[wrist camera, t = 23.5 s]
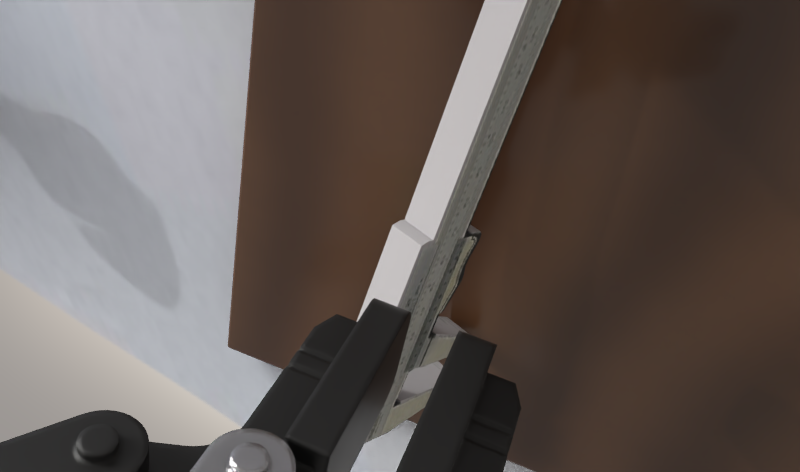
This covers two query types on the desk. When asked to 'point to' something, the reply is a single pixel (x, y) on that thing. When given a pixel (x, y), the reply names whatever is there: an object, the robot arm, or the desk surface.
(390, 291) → the caliper
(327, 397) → the robot arm
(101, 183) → the desk surface
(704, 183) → the walnut board
